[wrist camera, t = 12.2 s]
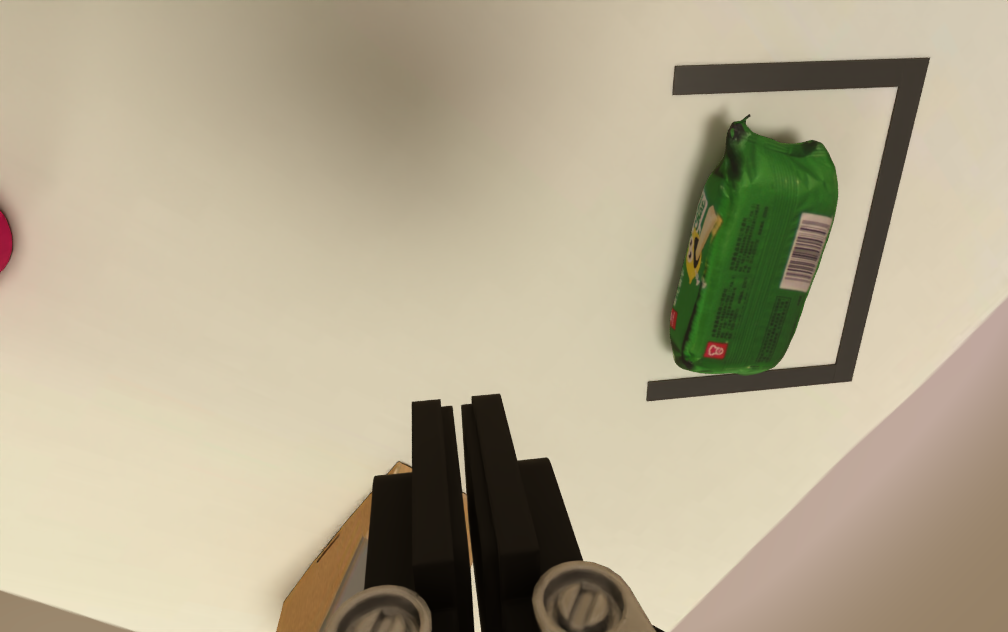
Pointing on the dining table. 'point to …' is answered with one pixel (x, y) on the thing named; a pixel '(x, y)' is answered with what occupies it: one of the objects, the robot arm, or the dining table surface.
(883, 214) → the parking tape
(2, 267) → the pepper mill
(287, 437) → the dining table surface
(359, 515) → the sandwich container
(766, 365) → the snack package
